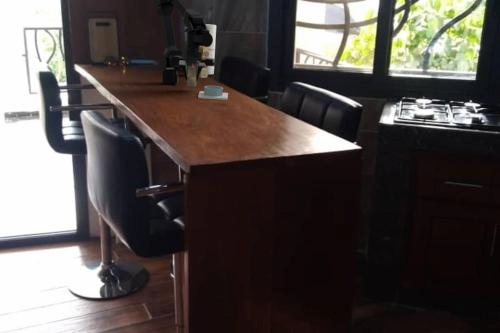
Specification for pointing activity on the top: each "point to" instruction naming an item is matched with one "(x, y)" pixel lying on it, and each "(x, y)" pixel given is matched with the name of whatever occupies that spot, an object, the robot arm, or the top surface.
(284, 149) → the top surface
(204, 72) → the candy box
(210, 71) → the cylindrical container
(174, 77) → the robot arm
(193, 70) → the rail post
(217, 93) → the cup bracket
